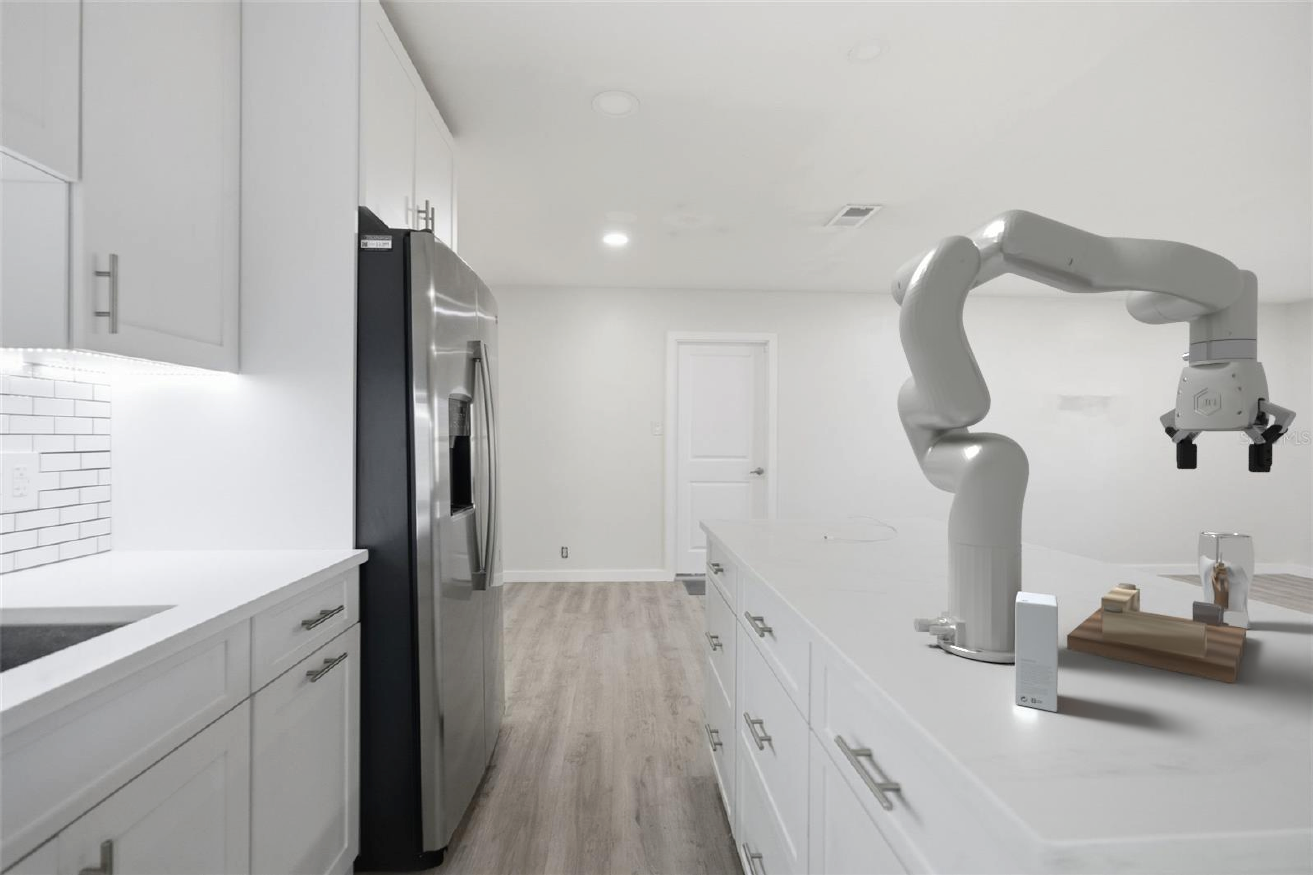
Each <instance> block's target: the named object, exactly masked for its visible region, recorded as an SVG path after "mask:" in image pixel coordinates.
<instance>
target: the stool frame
mask: <svg viewBox="0 0 1313 875" xmlns="http://www.w3.org/2000/svg"><path fill="white" fill-rule="evenodd" d="M1066 642H1067V643H1066V646H1067V647H1066V649H1067V650H1072V651H1077V652H1080V653H1086V654H1092V655H1096V656H1100V657H1106V658H1111V659H1115V660H1118V661H1125V662H1130V663H1133V664H1139V665H1144V666H1150V667H1155V668H1157V669H1158V668H1159V669H1163V670H1168V671H1174V672H1177V673H1178V672H1179V673H1183V674H1188V675H1193V676H1198V677H1202V678H1208V679H1212V680H1216V681H1221V682H1226V683H1230V684H1236V680H1237V676H1238V672H1239V668H1240V667H1241V666H1240V665H1241V661H1242V657H1243V654H1244V650H1245V646H1246V643H1247V630H1246V628H1242V627H1236V626H1230V625H1223V624H1220V605H1218V604H1211V603H1204V602H1203V601H1202V602H1201V601H1197V600H1194V601H1193V602H1192V619H1191V618H1185V617H1178V616H1171V615H1166V614H1160V613H1159V614H1158V613H1153V612H1147V611H1142V610H1141V611H1140V613H1138V612H1132V611H1126V610H1123V607H1120V606H1116V605H1104V610H1103V611H1102V624H1101V607H1099V608H1098V609H1097V610H1096V611H1095V612H1093V613H1092V614H1091V615H1089V616H1088V617H1087V618H1086V619H1085V620H1084V621H1083V622H1081V623H1080V624H1079V625H1077V626H1076V627H1075V628H1074V629H1072V631H1070V632H1069V633H1068V634H1067V635H1066Z"/></svg>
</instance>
